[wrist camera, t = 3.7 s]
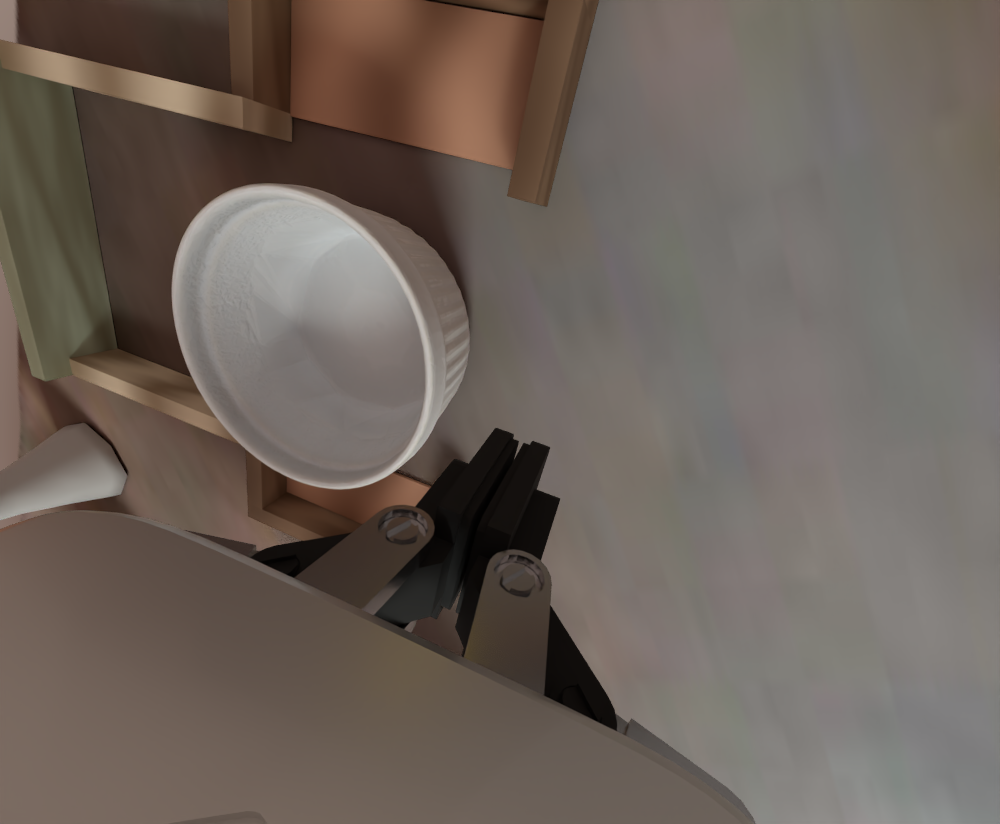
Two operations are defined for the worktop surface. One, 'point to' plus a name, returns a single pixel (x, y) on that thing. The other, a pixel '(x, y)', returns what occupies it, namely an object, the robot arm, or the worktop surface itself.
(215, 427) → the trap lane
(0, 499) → the flask
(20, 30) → the worktop surface
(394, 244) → the ramekin
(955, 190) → the worktop surface
